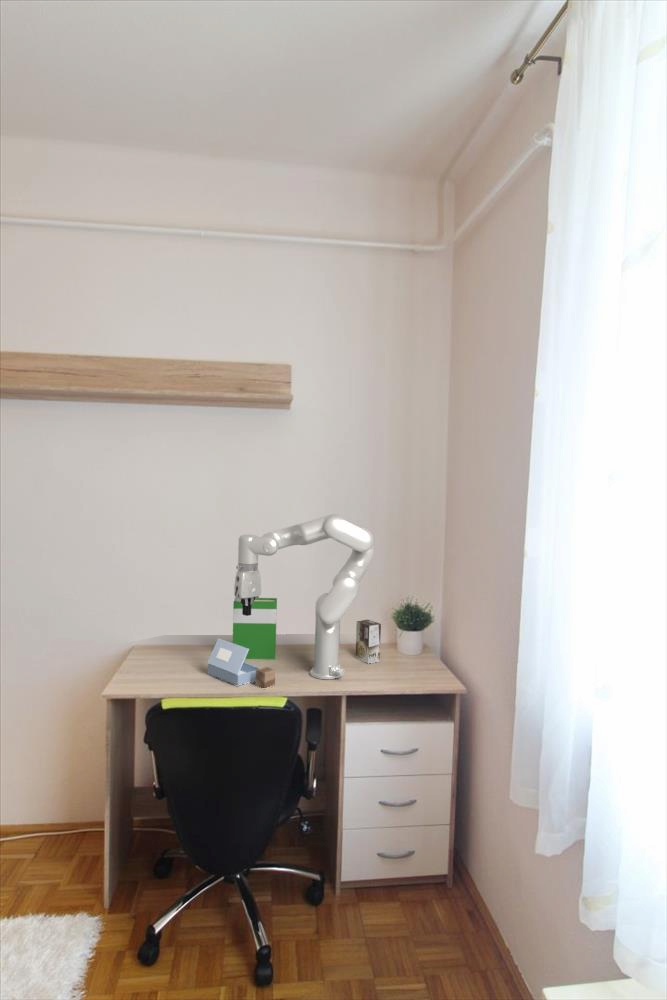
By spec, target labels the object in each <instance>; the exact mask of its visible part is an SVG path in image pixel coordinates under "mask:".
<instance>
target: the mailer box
mask: <svg viewBox="0 0 667 1000" xmlns="http://www.w3.org/2000/svg"><path fill="white" fill-rule="evenodd" d="M261 668H262V667H259V666H257V665H254V664H251V663H248V662H246V661H244V662H243V665H242V667H241V669H240V671H239V674H238V675H236V674H234V673H231V672H229V671H226V670H224V669H221V668H219V667H216V666H214V665H211V664H209V663H207V675H208V674H209V675H208V676H211V675H212V676H211V677H213V676H214V677H213V678H215V677H217V678H216V679H218V678H219V679H218V680H220V679H222V680H221V681H223V680H225V681H227V682H226V683H228V682H230V683H232V684H235V685H237V686H238V687H240V686H239V685H242V684H245V685H247V684H246V683H248V684H251V683H250V682H252V683H255V682H256V670H257V669H261ZM225 681H224V682H225ZM254 681H255V682H254ZM230 683H229V684H230ZM232 684H231V685H232ZM235 685H234V686H235ZM237 686H236V687H237ZM242 686H243V685H242Z"/></svg>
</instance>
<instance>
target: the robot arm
mask: <svg viewBox="0 0 667 1000" xmlns="http://www.w3.org/2000/svg"><path fill="white" fill-rule="evenodd" d="M328 539H332V540H334V541H336V542H338V543H340V544H342V545H344V546H346V547H348V548H350V549H352V550H351V553H350V555H349V557H348V558H347V560H346V562H345V564H344V565H343V566H342V568H341V569H340V570H339V572H337V574H336V575H335V577H334V578H333V580H332V588H331V589H330V590H329V592H325V593H323V594H321V595H319V596H318V598H317V600H316V601H315V610H314V611H315V626H314V627H315V631H314V633H315V634H314V662H313V663H314V664H313V665H314V666H313V667H312V668H311V669H310V671H309V675H310V676H311V677H312V678H316V679H321V680H335V678H336V679H338V678H339V679H340V678H341V677H343V675H344V674H345V672H346V670H345V669H344V668H342V665H341V663H340V636H341V619H342V618H343V616H344V615H345V614H346V613H347V611H348V610H349V608H351V605H352V604H353V603H354V602H355V600H356V598H358V597H357V596H358V595H359V592H360V582H361V581H362V579H363V578H364V576H365V575H366V573H367V571H369V570H368V569H370V567H371V564H372V563H373V560H374V556H375V555H374V554H375V546H374V545H375V544H374V543H375V542H374V541H375V539H374V536H373V534H372V532H370V530H368V529H367V528H366V527H363V526H358V525H356V524H354V523H351V522H350V521H348V520H346V519H344V518H343V517H342V516H341V515H339V514H328V515H325V516H322V517H319V518H315V519H312V520H308V521H305V522H302V523H299V524H298V523H297V524H295V525H294V524H293V525H291V526H287V527H283V528H279V529H276V530H273V531H270V532H267V533H264V534H263V535H262V536H257V535H255V534H242V535H240V536H239V537H238V546H237V547H238V548H237V551H238V555H237V565H236V567H235V569H236V570H237V571H236V572H235V573H236V574H235V579H234V587H233V589H234V590H233V593H234V594H233V595H234V601H238V602H241V604H242V605H243V607H242V614H243V615H246V616H249V615H251V605H252V604H253V601H254V600H255V599H257V598H260V596H261V595H262V578H261V577H262V576H261V572H260V570H259V556H265V557H268V556H269V557H270V556H274V555H276V554H277V552H278V550H282V549H284V548H289V547H292V546H309V545H312V544H314V543H315V544H316V543H318V542H321V541H324V540H328Z"/></svg>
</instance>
